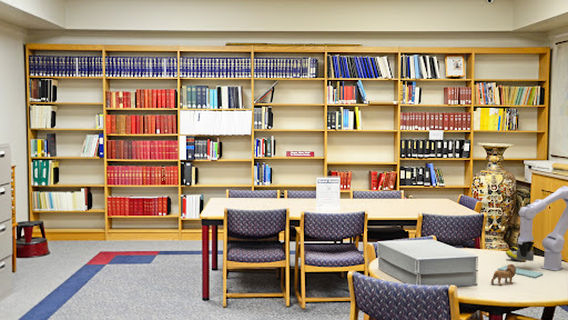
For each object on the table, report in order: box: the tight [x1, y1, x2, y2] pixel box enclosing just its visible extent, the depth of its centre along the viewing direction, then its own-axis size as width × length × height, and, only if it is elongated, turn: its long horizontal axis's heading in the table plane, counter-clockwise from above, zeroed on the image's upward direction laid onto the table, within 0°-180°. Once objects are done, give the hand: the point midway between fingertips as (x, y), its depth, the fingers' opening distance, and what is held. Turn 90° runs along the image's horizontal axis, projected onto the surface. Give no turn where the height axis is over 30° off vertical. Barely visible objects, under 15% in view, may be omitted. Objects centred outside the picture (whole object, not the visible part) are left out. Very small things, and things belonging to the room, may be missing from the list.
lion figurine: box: [490, 263, 517, 286], centre depth 257 cm, size 15×5×9 cm, turn 118°
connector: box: [511, 248, 535, 262], centre depth 284 cm, size 4×10×4 cm, turn 43°
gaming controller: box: [505, 246, 527, 262], centre depth 303 cm, size 15×6×10 cm
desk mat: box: [497, 265, 544, 279], centre depth 277 cm, size 9×19×1 cm, turn 43°
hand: (525, 255), depth 283 cm, fingers closed on connector, 3 cm apart
